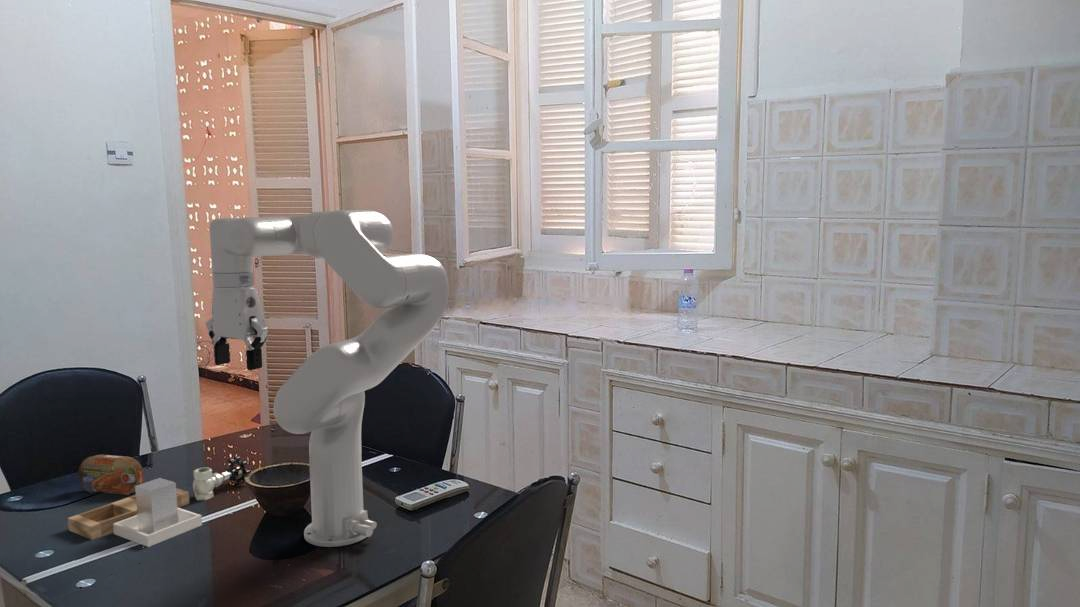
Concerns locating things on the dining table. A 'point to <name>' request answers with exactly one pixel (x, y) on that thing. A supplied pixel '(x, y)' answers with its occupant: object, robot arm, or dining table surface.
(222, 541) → the dining table surface
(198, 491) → the valve
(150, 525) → the gray rectangular block
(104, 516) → the wooden compartment tray
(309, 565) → the dining table surface
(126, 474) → the tin
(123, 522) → the dish
